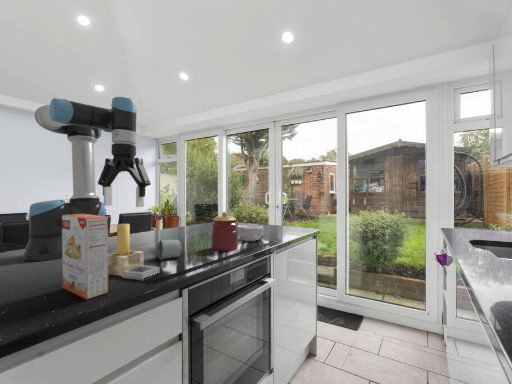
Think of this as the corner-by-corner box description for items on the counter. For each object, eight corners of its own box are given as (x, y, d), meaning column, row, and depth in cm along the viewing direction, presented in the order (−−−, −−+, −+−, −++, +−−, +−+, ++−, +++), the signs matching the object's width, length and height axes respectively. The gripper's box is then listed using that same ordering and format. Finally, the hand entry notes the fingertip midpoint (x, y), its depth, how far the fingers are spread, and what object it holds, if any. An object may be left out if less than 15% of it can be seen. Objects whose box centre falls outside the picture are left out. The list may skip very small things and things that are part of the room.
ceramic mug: (182, 258, 110) (182, 239, 110) (162, 261, 105) (162, 241, 105) (174, 253, 118) (174, 236, 119) (155, 256, 114) (155, 238, 114)
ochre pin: (114, 272, 91) (114, 224, 91) (123, 269, 94) (123, 223, 94) (123, 273, 90) (123, 225, 90) (132, 270, 93) (132, 224, 93)
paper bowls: (268, 240, 150) (268, 226, 150) (244, 243, 142) (244, 228, 142) (254, 236, 163) (254, 223, 163) (232, 238, 155) (232, 225, 155)
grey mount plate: (121, 277, 85) (121, 271, 85) (139, 270, 93) (139, 264, 93) (142, 280, 83) (142, 273, 83) (159, 272, 90) (159, 266, 90)
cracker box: (60, 289, 75) (60, 214, 75) (84, 283, 80) (84, 213, 80) (84, 301, 67) (84, 217, 67) (109, 293, 72) (109, 215, 72)
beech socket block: (102, 273, 89) (102, 255, 89) (123, 266, 98) (123, 249, 98) (124, 276, 87) (124, 257, 87) (143, 268, 95) (143, 251, 95)
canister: (236, 251, 122) (237, 213, 122) (208, 251, 122) (208, 212, 122) (239, 245, 135) (239, 210, 135) (213, 245, 135) (213, 210, 135)
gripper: (86, 143, 92) (85, 205, 92) (146, 140, 85) (146, 208, 85) (104, 147, 99) (104, 204, 100) (161, 144, 92) (161, 206, 92)
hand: (123, 206), depth 92 cm, fingers open, 13 cm apart
